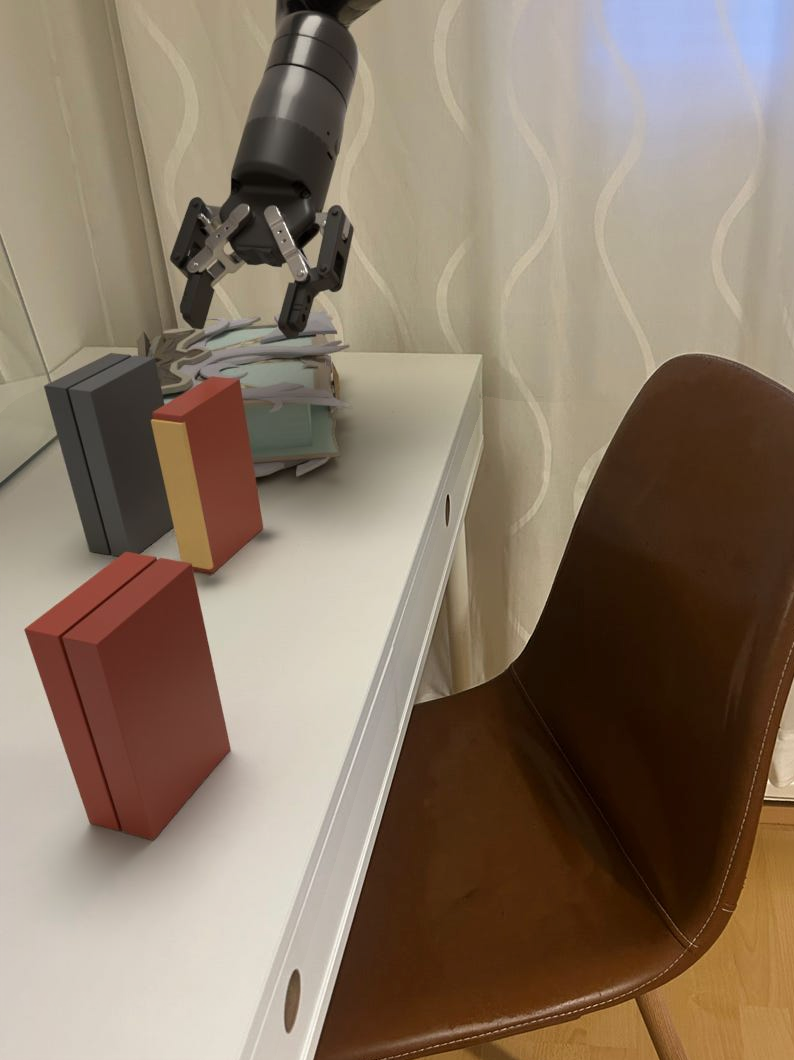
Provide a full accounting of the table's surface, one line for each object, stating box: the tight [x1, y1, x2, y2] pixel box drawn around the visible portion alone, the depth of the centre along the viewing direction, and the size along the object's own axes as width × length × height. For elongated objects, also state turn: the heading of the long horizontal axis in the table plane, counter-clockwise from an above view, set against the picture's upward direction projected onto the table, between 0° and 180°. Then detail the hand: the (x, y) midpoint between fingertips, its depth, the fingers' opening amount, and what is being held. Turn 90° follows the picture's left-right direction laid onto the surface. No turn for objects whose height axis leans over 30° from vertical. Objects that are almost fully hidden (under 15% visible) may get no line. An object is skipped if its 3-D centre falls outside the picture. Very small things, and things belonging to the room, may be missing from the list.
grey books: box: [43, 352, 174, 557], centre depth 78 cm, size 4×8×14 cm, turn 161°
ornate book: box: [136, 310, 353, 478], centre depth 98 cm, size 23×10×30 cm
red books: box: [24, 552, 232, 841], centre depth 53 cm, size 4×8×13 cm, turn 161°
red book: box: [151, 376, 264, 574], centre depth 76 cm, size 3×8×13 cm, turn 161°
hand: (238, 329), depth 76 cm, fingers open, 8 cm apart
